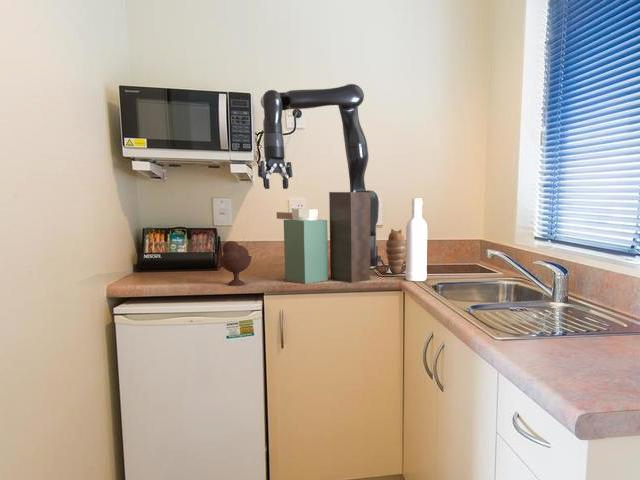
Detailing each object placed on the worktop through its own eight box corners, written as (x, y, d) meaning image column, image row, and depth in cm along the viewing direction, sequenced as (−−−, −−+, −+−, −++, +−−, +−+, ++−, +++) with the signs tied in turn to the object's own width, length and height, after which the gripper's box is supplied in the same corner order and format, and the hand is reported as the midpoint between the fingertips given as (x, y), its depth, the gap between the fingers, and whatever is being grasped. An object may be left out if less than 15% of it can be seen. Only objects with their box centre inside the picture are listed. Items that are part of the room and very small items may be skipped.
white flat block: (288, 218, 197) (288, 207, 196) (323, 220, 185) (323, 208, 184) (269, 218, 190) (268, 207, 189) (303, 220, 178) (303, 209, 177)
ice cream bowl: (232, 288, 170) (230, 242, 167) (213, 284, 176) (211, 240, 174) (259, 284, 178) (257, 241, 176) (240, 280, 185) (238, 239, 182)
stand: (349, 276, 198) (348, 192, 193) (370, 279, 191) (370, 192, 186) (330, 279, 190) (329, 192, 185) (351, 282, 183) (351, 192, 178)
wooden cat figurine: (409, 274, 206) (410, 229, 203) (397, 276, 200) (397, 230, 197) (393, 271, 211) (393, 228, 209) (380, 273, 205) (380, 228, 203)
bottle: (416, 277, 197) (417, 198, 193) (430, 279, 192) (432, 198, 187) (400, 279, 192) (401, 198, 187) (415, 282, 186) (416, 198, 182)
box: (308, 277, 195) (307, 219, 192) (328, 280, 189) (327, 220, 185) (285, 280, 187) (283, 219, 183) (305, 283, 180) (303, 220, 177)
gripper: (264, 144, 188) (266, 188, 191) (295, 146, 199) (297, 188, 202) (252, 145, 193) (255, 189, 195) (283, 147, 204) (285, 188, 206)
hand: (276, 188), depth 199 cm, fingers open, 8 cm apart
